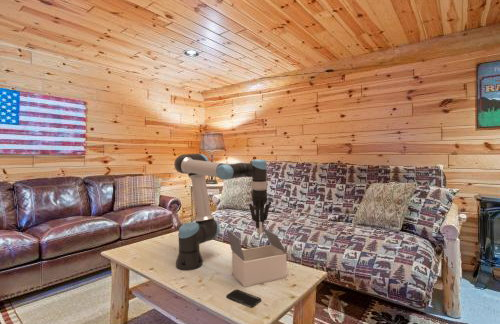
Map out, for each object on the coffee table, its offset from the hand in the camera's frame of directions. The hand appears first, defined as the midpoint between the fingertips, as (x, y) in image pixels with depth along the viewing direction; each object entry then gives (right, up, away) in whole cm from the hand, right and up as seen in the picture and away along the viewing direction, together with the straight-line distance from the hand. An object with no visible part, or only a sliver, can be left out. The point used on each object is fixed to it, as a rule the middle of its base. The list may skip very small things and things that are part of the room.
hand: (259, 233), depth 150 cm
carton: (0, -22, +1) cm, 22 cm away
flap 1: (-12, -4, -6) cm, 14 cm away
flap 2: (+7, -4, +4) cm, 9 cm away
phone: (-8, -24, -22) cm, 34 cm away
